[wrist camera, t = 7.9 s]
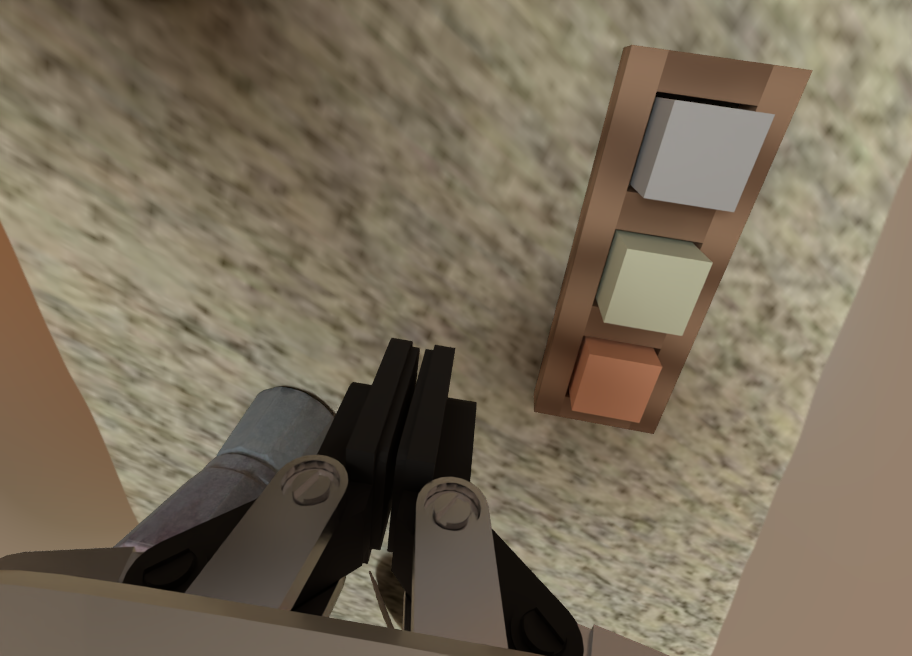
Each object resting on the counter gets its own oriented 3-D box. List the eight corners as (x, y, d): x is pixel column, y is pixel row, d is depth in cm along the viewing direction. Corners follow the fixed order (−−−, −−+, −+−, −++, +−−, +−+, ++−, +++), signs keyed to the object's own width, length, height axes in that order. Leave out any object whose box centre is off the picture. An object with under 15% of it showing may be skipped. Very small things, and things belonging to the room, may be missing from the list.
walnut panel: (646, 414, 39) (653, 433, 37) (533, 393, 40) (534, 411, 38) (789, 71, 27) (812, 70, 25) (623, 47, 28) (632, 44, 25)
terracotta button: (628, 391, 38) (639, 423, 34) (567, 380, 38) (571, 410, 35) (649, 338, 36) (662, 367, 32) (583, 327, 36) (589, 353, 32)
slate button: (709, 196, 29) (734, 212, 26) (629, 183, 30) (643, 197, 26) (742, 110, 27) (775, 114, 24) (656, 97, 27) (675, 99, 24)
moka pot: (207, 399, 45) (6, 601, 28) (342, 359, 41) (204, 567, 23) (260, 470, 49) (112, 687, 32) (389, 440, 45) (300, 672, 27)
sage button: (665, 309, 33) (682, 335, 30) (595, 297, 34) (603, 322, 30) (691, 242, 31) (712, 262, 27) (616, 229, 31) (627, 248, 28)
